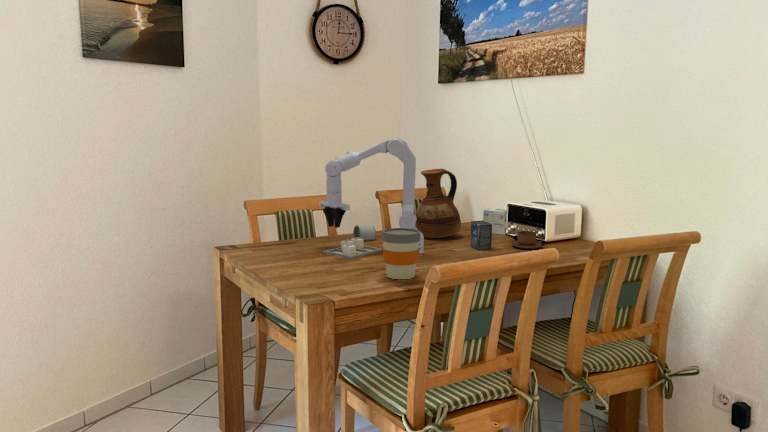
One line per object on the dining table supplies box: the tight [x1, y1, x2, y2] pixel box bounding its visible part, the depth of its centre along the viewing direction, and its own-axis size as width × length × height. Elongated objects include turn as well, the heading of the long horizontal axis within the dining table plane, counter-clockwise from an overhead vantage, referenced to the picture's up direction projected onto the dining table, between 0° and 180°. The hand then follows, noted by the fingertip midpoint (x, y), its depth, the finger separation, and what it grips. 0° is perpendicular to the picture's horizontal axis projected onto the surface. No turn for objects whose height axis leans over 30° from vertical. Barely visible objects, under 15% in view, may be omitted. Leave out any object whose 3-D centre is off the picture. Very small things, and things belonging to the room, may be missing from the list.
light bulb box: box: [482, 207, 508, 236], centre depth 272 cm, size 11×7×11 cm, turn 58°
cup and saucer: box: [511, 230, 543, 250], centre depth 241 cm, size 12×12×6 cm
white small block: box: [350, 237, 365, 249], centre depth 232 cm, size 4×3×4 cm
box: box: [470, 220, 493, 251], centre depth 238 cm, size 8×6×11 cm
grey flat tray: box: [323, 245, 383, 260], centre depth 226 cm, size 14×18×2 cm
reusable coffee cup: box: [381, 227, 420, 280], centre depth 193 cm, size 13×13×15 cm
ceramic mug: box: [352, 224, 377, 242], centre depth 251 cm, size 10×8×7 cm
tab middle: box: [340, 238, 354, 250], centre depth 228 cm, size 4×3×4 cm
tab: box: [343, 243, 356, 256], centre depth 220 cm, size 4×3×4 cm
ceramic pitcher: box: [415, 168, 462, 239], centre depth 261 cm, size 20×20×30 cm
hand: (334, 226), depth 231 cm, fingers open, 3 cm apart
